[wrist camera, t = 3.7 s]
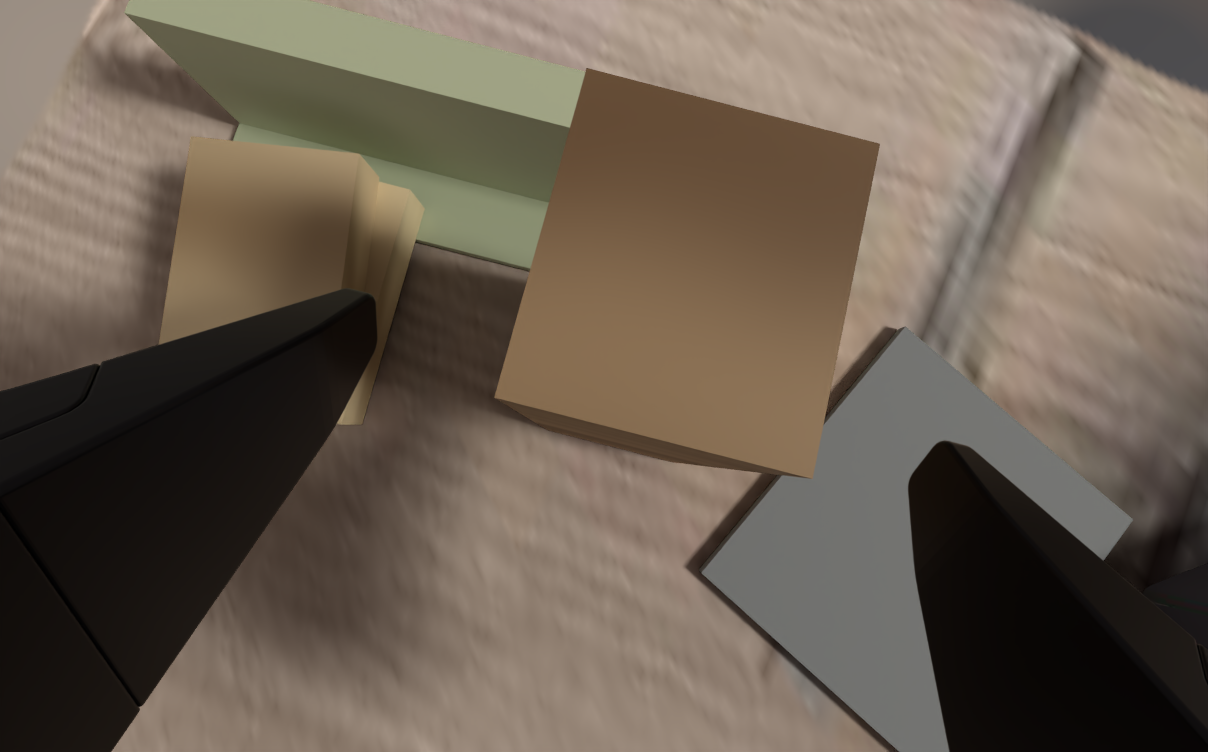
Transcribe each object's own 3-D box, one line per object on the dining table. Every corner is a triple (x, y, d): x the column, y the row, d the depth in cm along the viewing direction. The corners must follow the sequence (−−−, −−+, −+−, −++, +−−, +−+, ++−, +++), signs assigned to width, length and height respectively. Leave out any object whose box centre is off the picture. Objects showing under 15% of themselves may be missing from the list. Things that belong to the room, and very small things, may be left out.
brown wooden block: (672, 462, 18) (812, 479, 7) (547, 430, 18) (494, 397, 7) (705, 324, 19) (879, 143, 8) (583, 292, 19) (586, 68, 8)
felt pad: (930, 779, 17) (939, 787, 17) (698, 570, 18) (701, 572, 17) (1121, 518, 18) (1132, 519, 18) (898, 329, 19) (905, 326, 18)
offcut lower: (362, 424, 18) (341, 425, 16) (203, 383, 18) (167, 380, 16) (424, 208, 18) (410, 189, 17) (270, 168, 18) (242, 146, 17)
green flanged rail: (768, 332, 19) (836, 289, 14) (221, 192, 19) (89, 97, 14) (800, 188, 19) (875, 98, 14) (272, 53, 19) (164, -87, 14)
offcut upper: (352, 383, 16) (329, 379, 15) (195, 368, 16) (155, 362, 15) (379, 177, 17) (359, 153, 15) (226, 161, 17) (191, 136, 15)
